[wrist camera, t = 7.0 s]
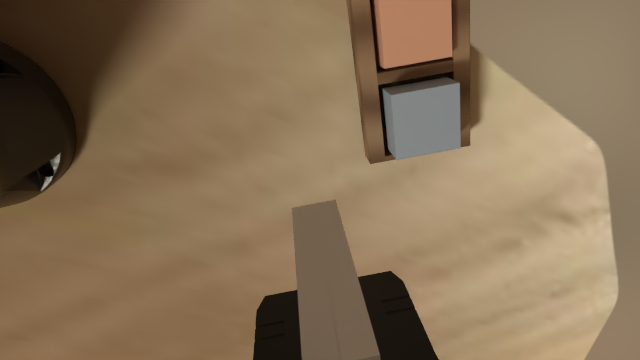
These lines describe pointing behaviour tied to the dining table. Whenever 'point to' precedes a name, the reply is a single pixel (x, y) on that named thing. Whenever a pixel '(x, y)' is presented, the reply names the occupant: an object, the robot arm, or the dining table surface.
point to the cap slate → (422, 117)
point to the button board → (405, 73)
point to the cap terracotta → (411, 31)
